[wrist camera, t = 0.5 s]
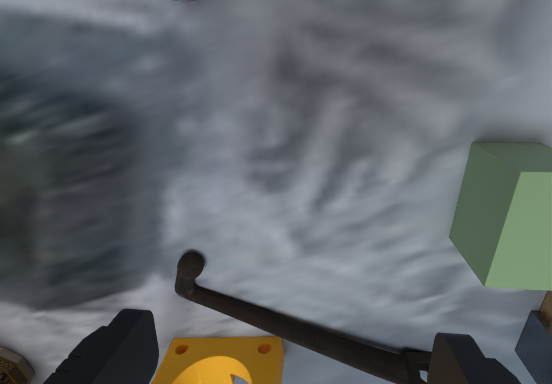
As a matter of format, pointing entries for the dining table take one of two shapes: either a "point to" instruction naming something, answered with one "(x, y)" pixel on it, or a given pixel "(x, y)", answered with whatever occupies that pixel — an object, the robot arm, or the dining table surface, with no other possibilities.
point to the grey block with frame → (538, 343)
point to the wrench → (303, 331)
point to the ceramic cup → (14, 368)
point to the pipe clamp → (222, 361)
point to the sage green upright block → (507, 215)
